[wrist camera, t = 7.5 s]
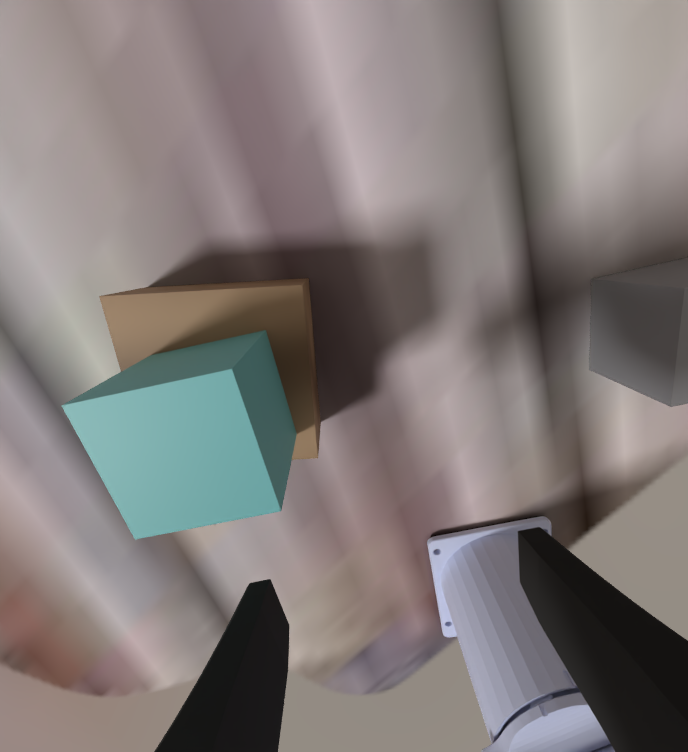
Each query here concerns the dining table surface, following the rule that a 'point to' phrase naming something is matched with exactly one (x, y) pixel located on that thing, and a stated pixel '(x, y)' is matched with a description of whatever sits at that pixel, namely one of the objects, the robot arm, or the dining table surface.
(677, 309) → the gray cube
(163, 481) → the teal cube
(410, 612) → the dining table surface
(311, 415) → the base block
